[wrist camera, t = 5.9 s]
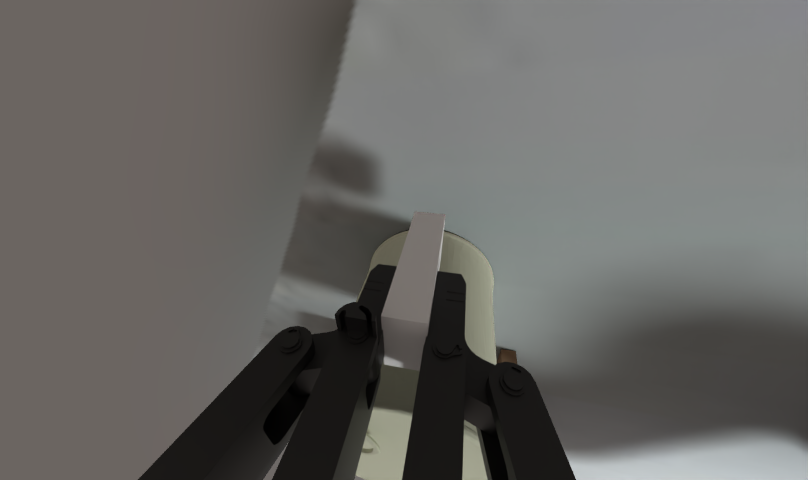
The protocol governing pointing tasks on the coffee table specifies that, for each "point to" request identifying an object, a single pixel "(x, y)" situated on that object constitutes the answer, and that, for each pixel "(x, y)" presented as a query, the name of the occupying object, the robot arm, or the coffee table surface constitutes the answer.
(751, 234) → the coffee table surface
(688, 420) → the coffee table surface
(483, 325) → the can
